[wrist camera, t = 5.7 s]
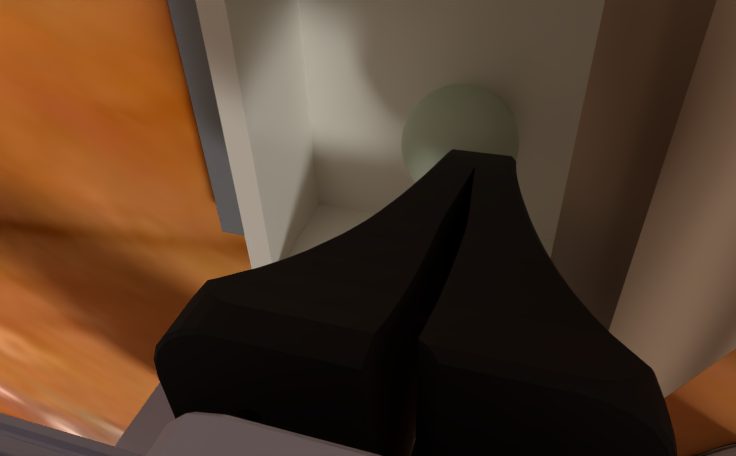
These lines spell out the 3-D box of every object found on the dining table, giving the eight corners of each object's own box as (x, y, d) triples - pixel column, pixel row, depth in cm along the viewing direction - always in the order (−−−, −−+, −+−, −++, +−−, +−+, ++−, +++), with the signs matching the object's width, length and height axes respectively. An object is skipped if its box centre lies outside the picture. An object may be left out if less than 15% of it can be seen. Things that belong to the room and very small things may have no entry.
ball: (415, 157, 17) (388, 215, 15) (416, 61, 15) (387, 110, 13) (516, 170, 16) (505, 233, 14) (531, 71, 15) (520, 124, 12)
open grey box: (310, 205, 21) (255, 288, 17) (273, -115, 15) (177, -83, 11) (603, 250, 18) (606, 358, 15) (707, -115, 12) (752, -72, 9)
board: (234, 217, 24) (222, 231, 23) (151, -163, 16) (129, -160, 15) (717, 297, 19) (721, 318, 18) (942, -180, 11) (967, -176, 10)
